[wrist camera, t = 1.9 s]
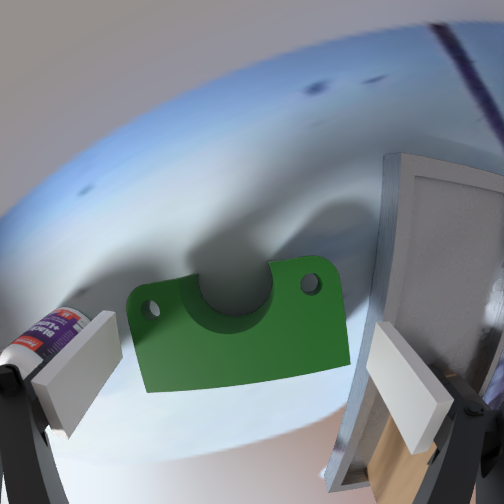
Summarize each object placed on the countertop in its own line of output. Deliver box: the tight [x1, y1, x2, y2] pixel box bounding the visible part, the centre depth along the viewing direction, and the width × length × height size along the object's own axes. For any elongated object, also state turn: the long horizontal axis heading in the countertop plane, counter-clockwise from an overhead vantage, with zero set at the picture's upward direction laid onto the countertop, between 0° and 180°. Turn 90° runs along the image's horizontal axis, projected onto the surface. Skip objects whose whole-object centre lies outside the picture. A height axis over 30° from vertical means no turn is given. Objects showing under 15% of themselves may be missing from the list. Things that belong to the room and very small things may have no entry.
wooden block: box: [365, 374, 492, 504], centre depth 18 cm, size 6×13×9 cm, turn 178°
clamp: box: [126, 256, 351, 393], centre depth 17 cm, size 12×6×9 cm, turn 94°
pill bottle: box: [0, 307, 91, 380], centre depth 16 cm, size 5×5×10 cm
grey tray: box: [324, 153, 504, 493], centre depth 20 cm, size 14×30×2 cm, turn 178°
